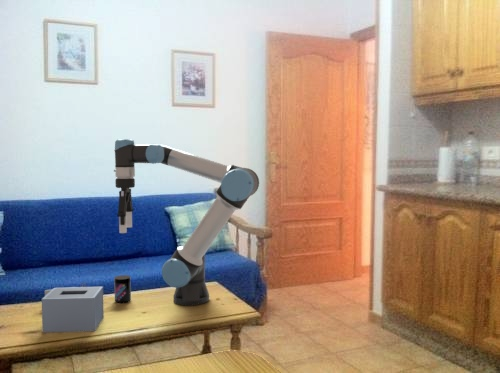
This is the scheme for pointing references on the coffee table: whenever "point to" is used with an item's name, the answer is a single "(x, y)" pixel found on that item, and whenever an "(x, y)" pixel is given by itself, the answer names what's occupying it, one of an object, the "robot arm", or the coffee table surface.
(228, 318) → the coffee table surface
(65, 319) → the coin box
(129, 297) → the supplement container
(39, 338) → the coffee table surface
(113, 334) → the coffee table surface
